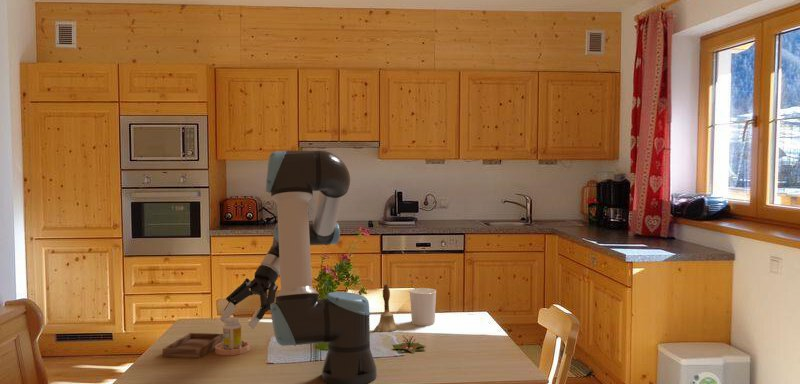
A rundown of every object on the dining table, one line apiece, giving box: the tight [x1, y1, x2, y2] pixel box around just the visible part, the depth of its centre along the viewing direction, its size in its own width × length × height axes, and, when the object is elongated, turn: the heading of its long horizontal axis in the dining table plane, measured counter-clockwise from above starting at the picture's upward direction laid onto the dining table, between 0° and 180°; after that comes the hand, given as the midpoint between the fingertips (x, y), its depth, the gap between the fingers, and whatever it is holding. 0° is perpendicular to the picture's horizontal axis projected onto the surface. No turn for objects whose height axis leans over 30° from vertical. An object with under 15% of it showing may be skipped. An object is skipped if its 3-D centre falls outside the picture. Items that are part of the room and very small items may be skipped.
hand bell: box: [375, 284, 400, 333], centre depth 222 cm, size 8×8×16 cm
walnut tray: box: [162, 332, 224, 359], centre depth 201 cm, size 18×12×2 cm, turn 171°
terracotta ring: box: [214, 339, 251, 356], centre depth 199 cm, size 11×11×2 cm
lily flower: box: [391, 334, 426, 354], centre depth 199 cm, size 12×12×5 cm
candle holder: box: [409, 287, 437, 327], centre depth 229 cm, size 10×10×12 cm
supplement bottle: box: [222, 316, 243, 350], centre depth 199 cm, size 6×6×10 cm
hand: (236, 324), depth 202 cm, fingers open, 13 cm apart
